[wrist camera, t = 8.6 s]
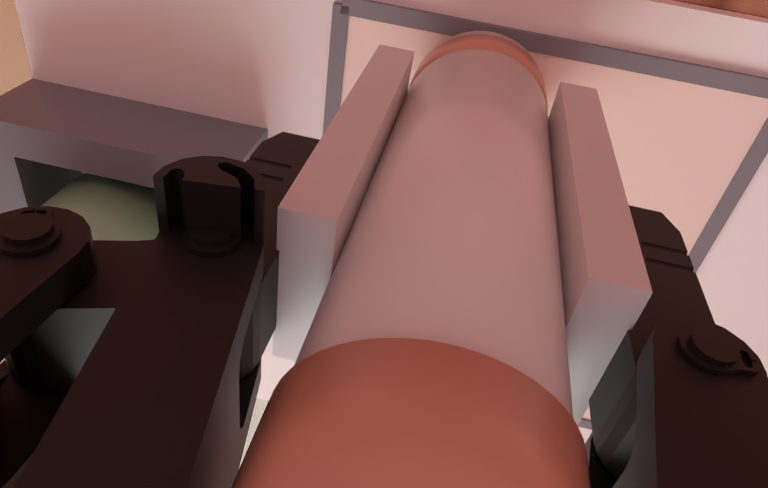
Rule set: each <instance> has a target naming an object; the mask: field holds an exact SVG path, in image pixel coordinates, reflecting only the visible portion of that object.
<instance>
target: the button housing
mask: <svg viewBox="0 0 768 488" xmlns="http://www.w3.org/2000/svg"><path fill="white" fill-rule="evenodd" d="M267 139H268V129H266V128H261V127H256V126H252V125H247V124H242V123H238V122H233V121H228V120H224V119H219V118H214V117H210V116H205V115H200V114H196V113H191V112H186V111H182V110H177V109H172V108H168V107H163V106H158V105H154V104H149V103H144V102H140V101H135V100H130V99H126V98H121V97H116V96H112V95H107V94H102V93H98V92H93V91H88V90H84V89H79V88H74V87H70V86H65V85H60V84H56V83H51V82H46V81H42V80H37V79H31V80H29V81H27V82H25V83H23V84H22V85H20V86H18V87H16V88H14V89H12V90H10V91H9V92H7V93H5V94H3V95H1V96H0V214H1V213H4V212H8V211H12V210H16V209H20V208H24V207H33V206H34V207H37V206H42V205H43V204H44V203H45V202H46V201H48V200H49V199H50V198H51V197H53V196H54V195H55V194H56V193H58V192H59V191H60V190H61V189H63V188H64V187H65V186H66V185H67V184H69V183H70V182H71V181H72V180H74V179H75V178H77V177H78V176H80V175H82V174H83V172H84V173H88V174H93V175H97V176H102V177H106V178H111V179H115V180H120V181H124V182H129V183H133V184H137V185H142V186H146V187H151V188H154V182H153V175H154V174H156V173H157V172H158V171H159V170H160V169H161V168H162V167H163V166H165V165H168V164H170V163H173V162H175V161H177V160H180V159H184V158H190V157H197V156H223V157H227V158H231V159H235V160H239V161H243V162H244V163H245V162H246V161H247V160H249V159H250V156H251V155H252V153H253V152H254V151H255V150H256V148H257V147H258V146H259V145H260V143H261V142H262V141H264V140H267Z"/></svg>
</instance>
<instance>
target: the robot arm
mask: <svg viewBox="0 0 768 488" xmlns="http://www.w3.org/2000/svg"><path fill="white" fill-rule="evenodd" d="M413 57H414V51H410V50H405V49H400V48H396V47H391V46H386V45H381V44H379V46H378V48H377V49H376V51H375V52H374V54H373V56H372V57H371V59H370V60H369V62H368V64H367V65H366V67H365V68H364V70H363V72H362V73H361V75H360V76H359V78H358V80H357V81H356V83H355V84H354V86H353V88H352V89H351V91H350V92H349V94H348V96H347V97H346V99H345V100H344V102H343V104H342V105H341V107H340V108H339V110H338V112H337V113H336V115H335V116H334V118H333V120H332V121H331V123H330V125H329V126H328V128H327V129H326V131H325V133H324V134H323V136H322V137H321V139H320V140H319V139H315V138H310V137H305V136H301V135H296V134H292V133H287V132H281V133H279V134H277V135H275V136H273V137H271V138H269V139H267V140H264V141H262V142H261V143H260V145H259V146H258V147H257V148H256V150H255V151H254V152H253V153H252V155H251V156H250V159H249V160H247V161H246V162H245V163H244V162H243V161H239V160H235V159H231V158H227V157H223V156H197V157H190V158H184V159H180V160H177V161H175V162H173V163H170V164H168V165H165V166H163V167H162V168H161V169H160V170H159V171H158V172H157V173H156V174H154V175H153V182H154V191H155V200H156V209H157V217H158V226H159V233H158V235H157V237H156V238H155V239H153V240H139V241H115V240H93V238H92V233H91V228H90V226H89V224H88V223H87V222H86V220H85V219H84V217H83V216H81V215H79V214H77V213H75V212H73V211H71V210H69V209H64V208H58V207H51V206H37V207H34V206H33V207H24V208H20V209H16V210H12V211H8V212H4V213H1V214H0V362H1V361H2V360H3V359H5V361H4V362H3V363H1V364H0V488H231V487H232V485H233V482H234V480H235V478H236V475H237V473H238V469H239V465H240V461H241V457H242V453H243V449H244V445H245V441H246V437H247V433H248V429H249V425H250V421H251V417H252V413H253V409H254V405H255V401H256V397H257V393H258V389H259V385H260V381H261V357H262V355H263V353H264V351H265V349H266V347H267V345H268V343H269V341H270V339H271V336H272V334H273V348H272V356H277V357H281V358H285V359H289V360H293V361H296V360H297V357H298V355H299V353H300V350H301V348H302V345H303V343H304V341H305V338H306V336H307V333H308V331H309V329H310V326H311V324H312V321H313V319H314V317H315V314H316V312H317V309H318V307H319V304H320V302H321V300H322V297H323V295H324V292H325V290H326V288H327V285H328V283H329V280H330V278H331V276H332V273H333V271H334V268H335V266H336V264H337V261H338V259H339V256H340V254H341V252H342V249H343V247H344V244H345V242H346V240H347V237H348V235H349V232H350V230H351V227H352V225H353V223H354V220H355V218H356V215H357V213H358V211H359V208H360V206H361V203H362V201H363V199H364V196H365V194H366V191H367V189H368V187H369V184H370V182H371V179H372V177H373V175H374V172H375V170H376V167H377V165H378V163H379V160H380V158H381V155H382V153H383V150H384V148H385V146H386V143H387V141H388V138H389V136H390V134H391V131H392V129H393V126H394V124H395V122H396V119H397V117H398V114H399V112H400V110H401V107H402V105H403V102H404V100H405V98H406V95H407V91H408V86H409V80H410V74H411V68H412V63H413ZM548 129H549V140H550V152H551V164H552V175H553V187H554V199H555V210H556V222H557V233H558V245H559V257H560V268H561V280H562V292H563V303H564V315H565V327H566V338H567V350H568V362H569V373H570V385H571V397H572V408H573V419H574V421H575V422H576V424H577V425H578V424H579V423H580V421H581V419H582V417H583V416H584V414H585V412H586V410H587V408H588V407H589V408H590V417H591V425H592V433H591V435H590V436H589V438H588V440H587V441H586V443H585V447H586V452H587V459H588V468H589V478H590V488H768V376H767V372H766V370H765V368H764V366H763V364H762V362H761V360H760V358H759V357H758V356H757V355H756V353H755V352H754V351H753V350H752V349H751V348H750V347H749V346H748V345H747V344H746V343H745V342H744V341H743V340H741V339H740V338H738V337H737V336H736V335H734V334H733V333H731V332H730V331H728V330H727V329H725V328H723V327H721V326H719V325H716V324H715V322H714V319H713V317H712V314H711V311H710V309H709V306H708V304H707V301H706V298H705V296H704V293H703V290H702V288H701V285H700V283H699V280H698V277H697V275H696V272H693V270H694V267H693V264H692V262H691V259H690V256H688V255H687V253H688V251H687V248H686V246H685V243H684V241H683V238H682V235H681V233H680V231H679V230H678V229H677V228H676V227H675V226H674V225H673V224H672V223H671V222H670V221H669V220H668V219H667V218H666V216H665V215H664V214H663V213H662V212H658V211H653V210H649V209H644V208H639V207H635V206H630V205H628V201H627V197H626V194H625V190H624V186H623V183H622V179H621V176H620V172H619V168H618V165H617V161H616V157H615V154H614V150H613V146H612V143H611V139H610V135H609V132H608V128H607V125H606V121H605V117H604V114H603V110H602V106H601V103H600V99H599V95H598V92H597V89H594V88H589V87H584V86H579V85H575V84H570V83H565V82H560V84H559V87H558V90H557V93H556V96H555V99H554V102H553V105H552V108H551V111H550V114H549V117H548Z"/></svg>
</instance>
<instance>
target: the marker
mask: <svg viewBox="0 0 768 488" xmlns="http://www.w3.org/2000/svg"><path fill="white" fill-rule="evenodd" d="M231 488H590V478H589V468H588V459H587V452H586V447H585V442H584V439H583V437H582V434H581V432H580V430H579V427H578V425H577V424H576V422H575V421H574V419H573V408H572V397H571V385H570V373H569V362H568V350H567V338H566V327H565V315H564V303H563V292H562V280H561V268H560V257H559V245H558V233H557V222H556V210H555V199H554V187H553V175H552V164H551V152H550V140H549V129H548V106H547V95H546V87H545V82H544V79H543V76H542V73H541V70H540V68H539V66H538V64H537V62H536V61H535V59H534V58H533V56H532V55H531V54H530V53H529V52H528V51H527V49H526V48H524V47H523V46H522V45H521V44H519V43H518V42H516V41H515V40H513V39H511V38H509V37H507V36H505V35H502V34H498V33H495V32H489V31H470V32H464V33H460V34H457V35H454V36H452V37H450V38H447V39H446V40H444V41H442V42H441V43H439V44H438V45H437V46H435V47H434V48H433V49H432V50H431V51H430V52H429V53H428V54H427V55H426V56H425V58H424V59H423V60H422V62H421V63H420V65H419V66H418V68H417V70H416V72H415V74H414V76H413V78H412V81H411V83H410V86H409V88H408V91H407V95H406V98H405V100H404V102H403V105H402V107H401V110H400V112H399V114H398V117H397V119H396V122H395V124H394V126H393V129H392V131H391V134H390V136H389V138H388V141H387V143H386V146H385V148H384V150H383V153H382V155H381V158H380V160H379V163H378V165H377V167H376V170H375V172H374V175H373V177H372V179H371V182H370V184H369V187H368V189H367V191H366V194H365V196H364V199H363V201H362V203H361V206H360V208H359V211H358V213H357V215H356V218H355V220H354V223H353V225H352V227H351V230H350V232H349V235H348V237H347V240H346V242H345V244H344V247H343V249H342V252H341V254H340V256H339V259H338V261H337V264H336V266H335V268H334V271H333V273H332V276H331V278H330V280H329V283H328V285H327V288H326V290H325V292H324V295H323V297H322V300H321V302H320V304H319V307H318V309H317V312H316V314H315V317H314V319H313V321H312V324H311V326H310V329H309V331H308V333H307V336H306V338H305V341H304V343H303V345H302V348H301V350H300V353H299V355H298V357H297V360H296V362H295V365H294V366H293V367H292V368H291V369H290V370H289V371H288V372H287V373H286V374H285V375H284V376H283V377H282V378H281V379H280V381H279V382H278V384H277V386H276V387H275V389H274V390H273V392H272V395H271V397H270V399H269V402H268V404H267V406H266V409H265V411H264V413H263V416H262V418H261V420H260V422H259V425H258V427H257V429H256V432H255V434H254V436H253V439H252V441H251V443H250V445H249V448H248V450H247V452H246V455H245V457H244V459H243V462H242V464H241V466H240V469H239V471H238V473H237V475H236V478H235V480H234V482H233V485H232V487H231Z"/></svg>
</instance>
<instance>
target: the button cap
mask: <svg viewBox="0 0 768 488" xmlns="http://www.w3.org/2000/svg"><path fill="white" fill-rule="evenodd" d="M42 206H51V207H58V208H64V209H69V210H71V211H73V212H75V213H77V214H79V215H81V216H83V217H84V219H85V220H86V222H87V223H88V224H89V226H90V228H91V233H92V238H93V240H115V241H139V240H153V239H155V238H156V237H157V235H158V233H159V226H158V217H157V209H156V200H155V191H154V188H151V187H146V186H142V185H137V184H133V183H129V182H124V181H120V180H115V179H111V178H106V177H102V176H97V175H93V174H88V173H84V174H82V175H80V176H78V177H77V178H75V179H74V180H72V181H71V182H70V183H69V184H67V185H66V186H65V187H64V188H63V189H61V190H60V191H59V192H58V193H56V194H55V195H54V196H53V197H51V198H50V199H49V200H48V201H46V202H45V203H44V204H43V205H42ZM3 360H4V361H5V359H3Z"/></svg>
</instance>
